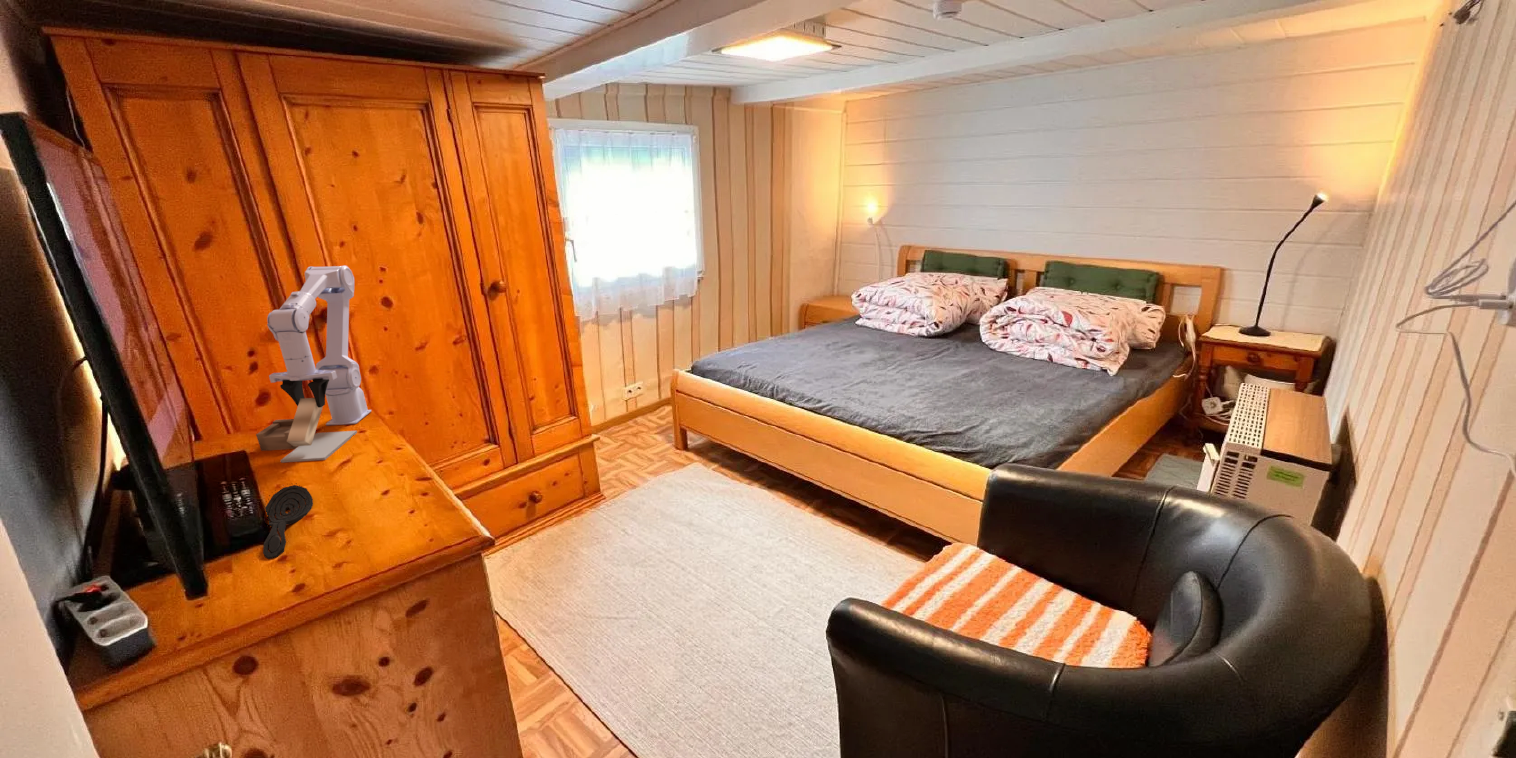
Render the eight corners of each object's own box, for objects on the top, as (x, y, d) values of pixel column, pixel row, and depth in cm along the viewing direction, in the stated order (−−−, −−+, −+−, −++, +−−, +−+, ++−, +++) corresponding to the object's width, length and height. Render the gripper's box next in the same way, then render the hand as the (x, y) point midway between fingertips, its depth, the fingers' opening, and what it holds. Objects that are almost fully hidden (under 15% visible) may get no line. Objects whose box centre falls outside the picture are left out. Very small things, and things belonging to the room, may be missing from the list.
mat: (317, 434, 159) (316, 432, 158) (357, 432, 160) (356, 430, 160) (280, 462, 144) (280, 460, 144) (325, 459, 145) (324, 457, 145)
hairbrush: (240, 554, 105) (265, 487, 125) (246, 571, 107) (270, 501, 127) (297, 541, 109) (312, 477, 129) (302, 557, 111) (316, 492, 131)
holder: (281, 436, 158) (276, 419, 156) (313, 435, 159) (308, 418, 157) (261, 450, 150) (255, 433, 148) (295, 448, 151) (290, 431, 149)
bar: (307, 403, 152) (300, 398, 150) (323, 403, 153) (317, 397, 150) (293, 446, 146) (286, 441, 144) (311, 445, 147) (304, 440, 144)
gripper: (255, 362, 142) (271, 414, 146) (320, 360, 144) (333, 410, 148) (273, 354, 148) (288, 403, 153) (335, 351, 150) (348, 400, 155)
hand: (311, 406), depth 151 cm, fingers closed on bar, 4 cm apart
